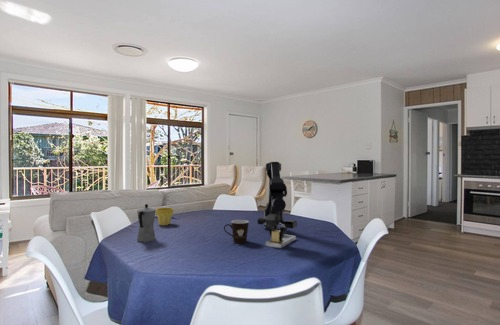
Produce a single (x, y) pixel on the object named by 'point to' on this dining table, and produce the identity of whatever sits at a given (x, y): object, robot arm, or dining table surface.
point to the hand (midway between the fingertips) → (276, 240)
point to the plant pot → (164, 215)
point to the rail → (286, 240)
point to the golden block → (276, 236)
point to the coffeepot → (146, 224)
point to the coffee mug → (239, 230)
